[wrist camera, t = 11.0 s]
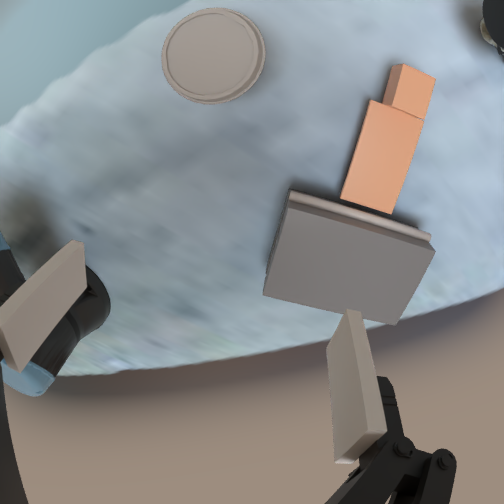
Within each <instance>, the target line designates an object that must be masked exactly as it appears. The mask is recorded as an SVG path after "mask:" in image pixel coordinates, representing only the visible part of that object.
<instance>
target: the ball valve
mask: <svg viewBox="0 0 504 504" xmlns="http://www.w3.org/2000/svg"><path fill="white" fill-rule="evenodd" d="M480 31H481V34H482V37H483V39H484V40H485V41H487V42H488V43H490V44H491V45H494V46H495V47H497V48H498V53H499V54H502V55H504V0H484V1H483V19H482V20H481V22H480Z"/></svg>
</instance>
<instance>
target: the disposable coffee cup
mask: <svg viewBox="0 0 504 504" xmlns="http://www.w3.org/2000/svg"><path fill="white" fill-rule="evenodd" d="M264 62H265V45H264V40H263V37H262V35H261V33H260V31H259V29H258V28H257V27H256V25H255V24H254V23H253V22H252V21H251V20H250V19H248V18H247V17H246V16H244V15H243V14H241V13H239V12H236V11H233V10H230V9H226V8H207V9H203V10H199V11H197V12H194V13H192V14H190V15H188V16H187V17H185V18H184V19H182V20H181V21H180V22H178V23H177V24H176V25H175V26H174V27H173V28H172V30H171V31H170V32H169V34H168V36H167V37H166V40H165V42H164V45H163V49H162V68H163V71H164V75H165V77H166V79H167V81H168V83H169V84H170V85H171V87H172V88H173V89H174V90H175V91H176V92H177V93H178V94H179V95H181V96H183V97H184V98H186V99H188V100H190V101H193V102H196V103H201V104H220V103H224V102H228V101H231V100H233V99H235V98H237V97H239V96H241V95H242V94H243V93H245V92H246V91H247V90H248V89H250V88H251V87H252V85H253V84H254V83H255V82H256V81H257V79H258V77H259V76H260V74H261V72H262V69H263V66H264Z"/></svg>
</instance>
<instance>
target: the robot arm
mask: <svg viewBox="0 0 504 504" xmlns="http://www.w3.org/2000/svg"><path fill="white" fill-rule="evenodd" d="M10 249H11V248H10V246H8V245H7V243H6V241H5V239H4V237H3V235H2V233H1V231H0V504H28V501H27V498H26V494H25V491H24V488H23V484H22V481H21V477H20V474H19V470H18V466H17V462H16V458H15V453H14V449H13V445H12V440H11V435H10V429H9V423H8V417H7V411H6V403H5V395H4V386H3V381H4V382H5V383H6V384H8V385H9V386H11V387H12V388H14V389H16V390H17V391H19V392H21V393H24V394H26V395H29V396H40V395H42V394H43V393H44V392H45V391H46V390H47V388H48V387H49V386H50V385H51V383H52V382H54V380H55V377H56V376H57V374H58V372H59V371H60V369H61V368H62V366H63V365H64V363H65V362H66V360H67V358H68V357H69V355H70V354H71V352H72V351H73V349H74V348H75V346H76V345H77V343H78V342H79V341H80V339H82V338H83V337H85V336H86V335H88V334H89V333H91V332H92V331H94V330H96V329H98V328H99V327H100V326H101V325H102V324H103V323H104V321H105V320H106V318H107V317H108V315H109V312H110V300H109V297H108V294H107V291H106V289H105V287H104V286H103V284H102V282H101V281H100V280H99V278H98V277H97V276H96V275H95V274H94V273H93V272H92V271H91V270H90V269H89V268H88V267H86V266H85V254H84V243H82V242H79V241H75V240H71V241H70V242H69V243H67V244H66V245H65V246H64V247H63V248H62V249H60V250H59V251H58V252H57V253H56V254H55V255H54V256H53V257H52V258H50V259H49V260H48V261H47V262H46V263H45V264H44V265H43V266H42V267H41V268H40V269H38V270H37V271H36V272H35V273H34V274H33V275H32V276H31V277H30V278H29V279H28V280H27V281H26V280H25V278H24V276H23V274H22V273H21V271H20V269H19V267H18V265H17V263H16V261H15V259H14V257H13V255H12V252H11V250H10ZM326 351H327V361H328V372H329V383H330V396H331V410H332V424H333V442H334V462H335V463H347V464H352V463H353V462H354V461H356V460H357V459H358V458H359V463H360V466H359V467H357V468H356V469H355V470H354V471H353V472H351V473H350V474H349V475H348V476H350V477H349V478H348V479H347V480H346V481H345V482H344V483H343V484H342V486H341V487H340V488H339V489H338V490H337V491H336V492H335V493H334V494H333V495H332V496H331V498H330V499H329V500H328V501H327V502H326V503H325V504H385V502H386V501H387V499H388V498H389V497H390V495H391V494H392V495H391V498H390V500H389V503H388V504H449V502H450V497H451V493H452V488H453V483H454V478H455V473H456V467H457V466H456V459H455V456H454V455H453V454H452V453H451V452H450V451H448V450H447V449H438V450H436V451H435V452H434V453H433V454H430V453H427V452H424V451H421V450H418V449H416V448H415V446H414V444H413V442H412V441H411V440H410V439H409V438H407V437H405V436H404V433H403V428H402V424H401V419H400V415H399V410H398V407H397V401H396V399H395V393H394V389H393V386H392V384H391V383H390V381H389V380H388V378H387V377H381V376H376V372H375V367H374V363H373V359H372V355H371V350H370V346H369V342H368V338H367V334H366V330H365V326H364V322H363V318H362V314H361V312H359V311H355V310H350V309H346V311H345V313H344V315H343V317H342V319H341V321H340V323H339V325H338V327H337V329H336V331H335V333H334V335H333V337H332V339H331V341H330V343H329V344H328V346H327V348H326Z"/></svg>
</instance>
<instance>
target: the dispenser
mask: <svg viewBox="0 0 504 504" xmlns="http://www.w3.org/2000/svg"><path fill="white" fill-rule="evenodd" d="M430 240H431V234H430V233H427V232H424V231H421V230H419V229H418V228H416V227H413V226H411V225H408V224H405V223H402V222H399V221H396V220H393V219H390V218H386V217H383V216H380V215H377V214H374V213H371V212H368V211H364V210H361V209H358V208H355V207H351V206H348V205H345V204H341V203H338V202H335V201H331V200H328V199H324V198H321V197H317V196H314V195H310V194H307V193H303V192H299V191H296V190H292V189H289V191H288V195H287V198H286V202H285V205H284V209H283V212H282V216H281V219H280V223H279V226H278V230H277V233H276V236H275V240H274V243H273V247H272V250H271V254H270V257H269V260H268V264H267V268H266V277H265V281H264V288H263V295H264V296H268V297H272V298H276V299H280V300H284V301H288V302H292V303H297V304H301V305H305V306H309V307H314V308H318V309H322V310H327V311H331V312H335V313H340V314H344V313H345V311H346V309H350V310H355V311H359V312H361V314H362V318H363V319H367V320H372V321H377V322H381V323H386V324H391V325H396V324H397V322H398V320H399V319H400V317H401V315H402V313H403V312H404V310H405V308H406V307H407V305H408V303H409V301H410V300H411V298H412V296H413V294H414V292H415V291H416V289H417V287H418V285H419V283H420V281H421V279H422V278H423V276H424V274H425V272H426V270H427V268H428V266H429V264H430V262H431V260H432V258H433V256H434V254H435V252H436V251H435V250H434V249H433V247H432V246H431V245H430V243H429V241H430Z"/></svg>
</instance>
